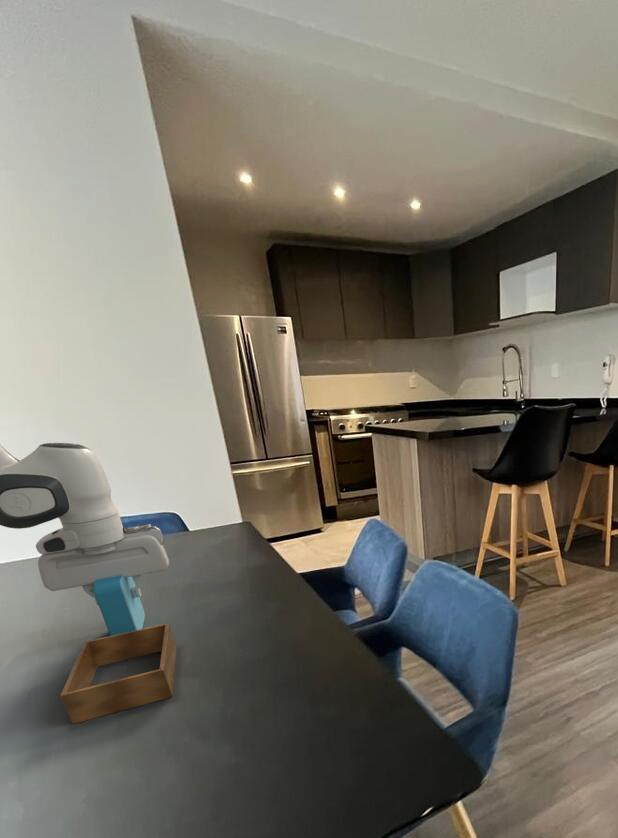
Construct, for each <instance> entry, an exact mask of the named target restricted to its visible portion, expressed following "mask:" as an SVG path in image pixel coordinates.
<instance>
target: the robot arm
mask: <svg viewBox="0 0 618 838" xmlns="http://www.w3.org/2000/svg"><path fill="white" fill-rule="evenodd" d="M107 477H108V476H107V475H106V473H105V469H104V468H103V466H102V463H101V461H100V459H99V457H98V456H97V454H96V453H95V452H94V451H93V450H92V449H90V448H89V447H87V446H85V445H82V444H79V443H76V444H75V443H69V442H68V443H67V442H45V443H42V444H39V445H38V446H37V447H36V448H35V449H34V450H33V451H32V452H31V453H29V454H28V455H27V456H25V457H23V458H21V459H18V458H17V457H15V456H13V455H12V454H11V453H9V452H8V451H7V450H6V449H5V448H4V447H3V446H2V445H1V444H0V526H1V527H4V528H8V529H16V530H18V529H19V530H20V529H21V530H22V529H31V528H34V527H37V526H40V525H42V524H45V523H48V522H50V521H53V520H56V519H58V520H59V521H60V523H61V526H62V527H61V528H58V529H56V530H54V531H51V532H49V533H47V534H45V535H44V536H42V537H41V538H40V539H39V540H38V541H37V542H36V544H35V548H36V550H37V552H38V554H41V555H40V556H39V558H38V561H37V567H38V572H39V575H40V576H39V577H40V579H41V582H42V584H43V586H44V588H45V589H47V590H48V591H50V592H57V591H61V590H67V589H73V588H78V587H82V589H83V591H84V592H85V593H86V594H87V595H89V596H90V597H91V598H94V600H95V603H96V605H97V606H99V605H98V602H97V599H96V597H95V594H94V589H93V587H94V584H95V582H96V580H99V579H105V578H110V577H115V576H121V575H123V576H124V578H127V577H132V579H133V581H134V582H136V583H135V587H132V588H131V589H130V592H131V594H132V598H137V597H139V598H141V597H142V590H141V588H140V586H141V583H142V581H143V575H149V574H154V573H158V572H164V571H165V572H166V571H167V569H168V567H169V565H170V560H169V556H168V553H167V551H166V549H165V547H164V542H165V539H164V535H163V532H162V531H161V529H160V528H159V527H157V526H154V525H151V524H143V525H139V526H129V527H124V526H123V522H122V520H121V516H120V513H119V511H118V509H117V507H116V506H115V504H114V503H113V499H112V493H111V492H112V489H111V486H110V483H109V480H108V478H107Z"/></svg>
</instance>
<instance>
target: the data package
mask: <svg viewBox="0 0 618 838" xmlns="http://www.w3.org/2000/svg"><path fill="white" fill-rule="evenodd" d="M135 586H136V583H135V581H133V579H132V577H127V578H124V576H123V575H121V576H115V577H110V578H105V579H99V580H96V582H95V584H94V587H93V589H94V594H95V597H96V599H97V602H98V605H97V606H98V607H99V611H100V612H101V615H102V617H103V620H104V623H105V626H106V628H107V631H108V634H109V636H112V635H117V634H121V633H126V632H130V631H135V630H139V629H144V628H143V627H144V624H145V623H144V622H145V619H146V614H145V610H144V607H143V603H142V601H141V597H137V598H132V594H131V592H130V589H131V588H132V587H135Z"/></svg>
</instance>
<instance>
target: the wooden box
mask: <svg viewBox="0 0 618 838" xmlns="http://www.w3.org/2000/svg"><path fill="white" fill-rule="evenodd" d="M171 627H172V626H171V625H170V622H166V623H162V624H158V625H154V626H149V627H144V628H142V629H139V630H135V631H130V632H126V633H121V634H117V635H112V636H110V635H108V636H104V637H103V636H102V637H100V638H95V639H94V638H93V639H91V640H86V641H84V642H83V644H82V646H81V649H80V651H79V653H78V655H77V657H76V659H75V662H74V664H73V666H72V669H71V671H70V673H69V676H68V678H67V680H66V682H65V684H64V687H63V689H62V691H61V693H60V700H61V702H62V703H63V706H64V708H65V710H66V713H67V715H68V717H69V719H70V722H71V724H72V725H74V724H78V723H81V722H85V721H90V720H93V719H97V718H100V717H102V716H107V715H111V714H115V713H118V712H121V711H126V710H129V709H133V708H136V707H141V706H143V705H147V704H152V703H154V702H157V701H162V700H166V699H169V698H172V697H173V693H174V683H175V682H174V680H175V670H176V669H175V668H176V657H177V643H176V640H175V636H174V634H173V631H172V628H171ZM159 652H161V654H160V661H159V669H155V670H150V671H147V672H143V673H139V674H135V675H131V676H127V677H123V678H120V679H115V680H111V681H106V682H104V683H100V684H96V685H92V683H93V681H94V677H95V675H96V673H97V669H98V667H101V666H105V665H109V664H114V663H118V662H122V661H127V660H130V659H135V658H139V657H143V656H148V655H151V654H155V653H159Z"/></svg>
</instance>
